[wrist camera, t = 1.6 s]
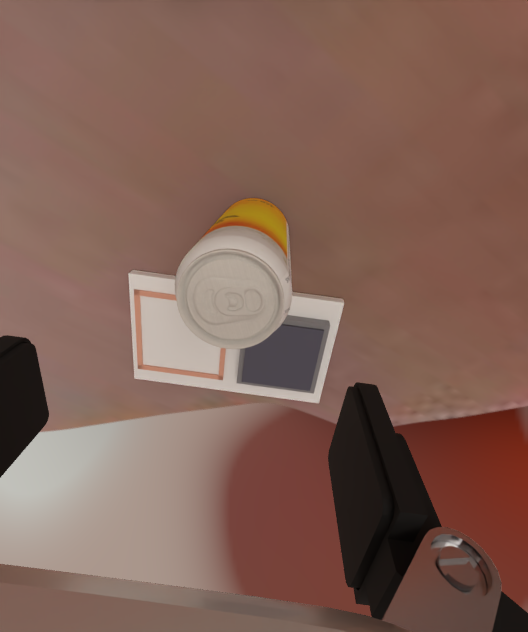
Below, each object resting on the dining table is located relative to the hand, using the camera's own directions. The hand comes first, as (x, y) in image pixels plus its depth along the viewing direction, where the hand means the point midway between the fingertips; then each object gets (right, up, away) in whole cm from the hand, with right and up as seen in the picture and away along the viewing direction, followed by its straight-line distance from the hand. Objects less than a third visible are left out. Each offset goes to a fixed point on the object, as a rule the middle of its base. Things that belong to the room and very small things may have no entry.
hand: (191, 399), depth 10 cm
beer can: (+1, +10, +20) cm, 22 cm away
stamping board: (-1, 0, +25) cm, 25 cm away
